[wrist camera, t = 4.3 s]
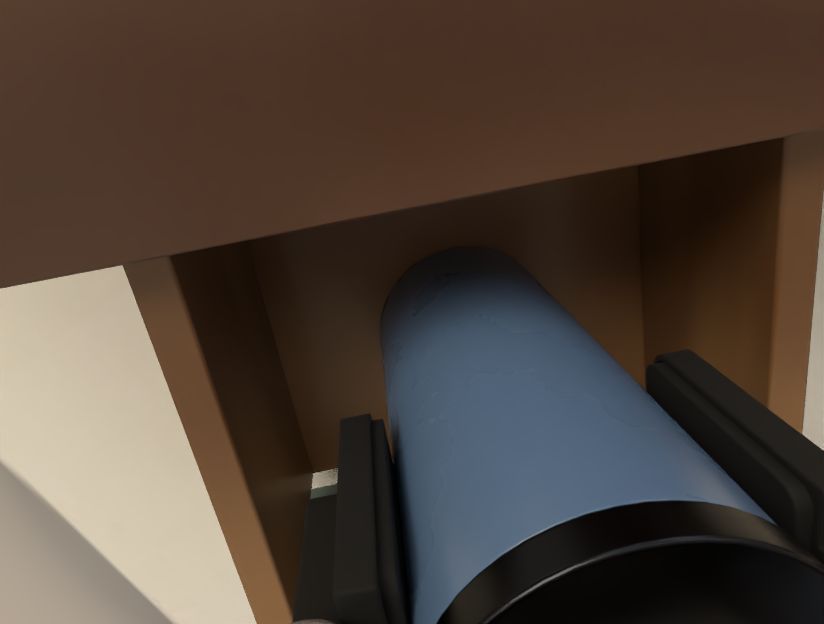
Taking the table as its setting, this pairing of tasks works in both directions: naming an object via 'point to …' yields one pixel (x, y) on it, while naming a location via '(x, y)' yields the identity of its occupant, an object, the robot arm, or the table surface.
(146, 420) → the table surface
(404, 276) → the tin
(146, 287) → the drawer
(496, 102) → the cabinet
